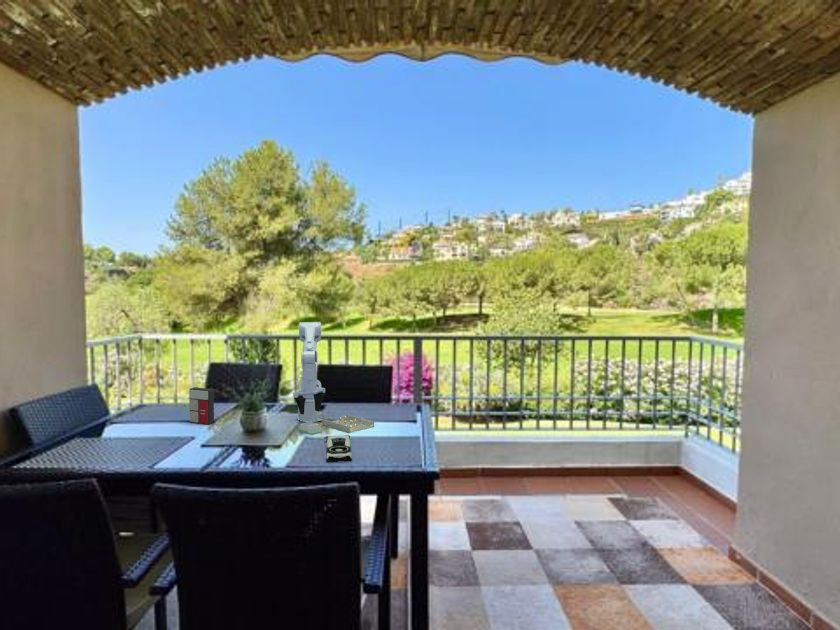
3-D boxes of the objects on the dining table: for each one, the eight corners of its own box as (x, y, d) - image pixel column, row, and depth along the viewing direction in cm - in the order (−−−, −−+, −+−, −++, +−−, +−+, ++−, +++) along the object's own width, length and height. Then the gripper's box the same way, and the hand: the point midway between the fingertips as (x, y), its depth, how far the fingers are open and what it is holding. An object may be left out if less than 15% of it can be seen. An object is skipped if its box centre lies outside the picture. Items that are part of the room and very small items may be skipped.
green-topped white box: (297, 431, 239) (297, 422, 239) (307, 429, 242) (307, 420, 242) (311, 436, 232) (311, 427, 232) (321, 433, 236) (321, 425, 235)
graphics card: (350, 434, 223) (352, 453, 199) (350, 442, 224) (352, 463, 199) (324, 435, 222) (323, 454, 197) (324, 443, 222) (323, 464, 197)
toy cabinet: (188, 422, 250) (187, 388, 249) (195, 420, 254) (195, 387, 253) (208, 425, 246) (207, 390, 245) (215, 422, 250) (214, 389, 249)
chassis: (322, 425, 248) (322, 417, 248) (347, 419, 258) (347, 412, 258) (348, 433, 235) (348, 425, 235) (374, 426, 245) (374, 419, 245)
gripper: (300, 383, 228) (300, 416, 229) (329, 378, 238) (329, 411, 239) (290, 381, 233) (290, 414, 233) (319, 376, 243) (319, 408, 244)
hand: (309, 412), depth 237 cm, fingers open, 7 cm apart
